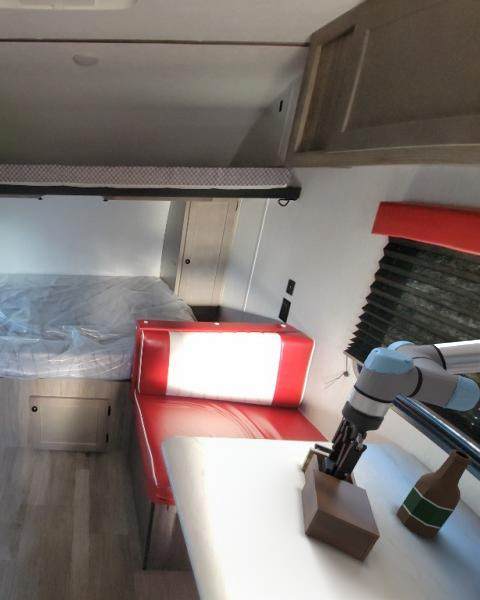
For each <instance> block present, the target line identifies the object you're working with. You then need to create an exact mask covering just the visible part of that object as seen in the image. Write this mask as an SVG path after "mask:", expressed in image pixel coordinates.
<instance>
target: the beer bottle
mask: <svg viewBox="0 0 480 600" xmlns="http://www.w3.org/2000/svg"><path fill="white" fill-rule="evenodd" d="M448 454H449V455H448V457H447V458H446V459H445V461H444V462H442V464H441V466H440V467H439V468H438V469H437V470H436V471H434V472H428V473H425V474H423V475H421V476H420V477H419V478H418V480H417V481H416V482H415V484H414V485H413V487H412V488H411V490H410V491H409V493H408V494H407V496H406V497H405V498H404V501H403V502H402V504H401V505H400V507H399V508H398V510H397V512H396V513H395V514H396V515H395V516H396V517H397V518H398V520H399V521H400V522H401V524H402V525H403V526H404V527H405V528H407V529H408V530H410V531H411V532H413V533H414V534H415V535H417V536H419V537H422V538H427V539H431V540H433V539H434V538H435V537H436V536H437V534H438V533H439V532H440V530H441V529H442V528H443V526H444V525H445V523H446V522H447V521H448V520H449V518H450V516H451V515H452V514H453V513H454V511H455V510H456V508H457V506H458V504H459V502H460V500H461V490H460V487H459V484H460V480H461V479H462V477H463V475H464V473H465V471H466V469H467V467H468V466H471V465H472V463H473V458H472V457H471V456H470V455H469V454H467V453H466V452H463V451H461V450H459V449H454V448H453V449H452V450H450V451H449V453H448Z"/></svg>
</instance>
